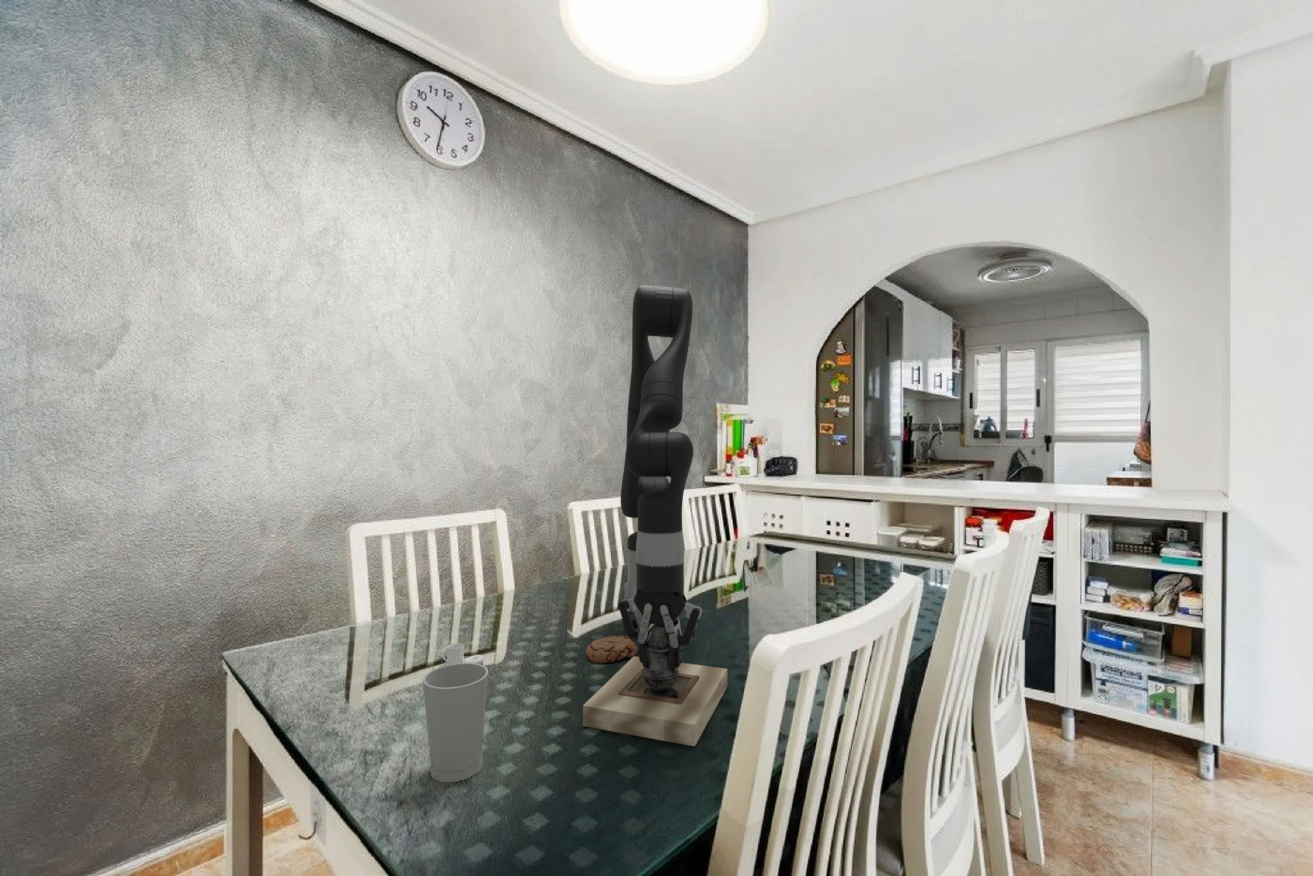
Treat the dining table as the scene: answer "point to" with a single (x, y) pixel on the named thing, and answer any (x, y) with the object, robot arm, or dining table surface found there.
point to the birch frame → (657, 704)
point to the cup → (455, 719)
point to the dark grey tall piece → (660, 665)
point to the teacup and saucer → (460, 655)
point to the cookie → (611, 649)
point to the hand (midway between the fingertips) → (660, 666)
